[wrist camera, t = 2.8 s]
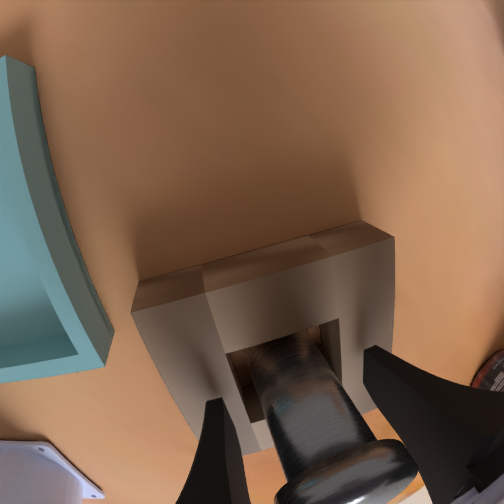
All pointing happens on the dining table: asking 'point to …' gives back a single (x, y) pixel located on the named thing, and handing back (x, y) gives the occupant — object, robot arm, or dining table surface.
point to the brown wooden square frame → (269, 318)
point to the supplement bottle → (491, 374)
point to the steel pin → (322, 430)
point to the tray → (39, 251)
